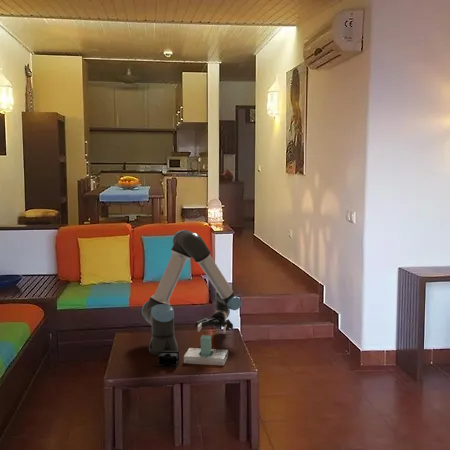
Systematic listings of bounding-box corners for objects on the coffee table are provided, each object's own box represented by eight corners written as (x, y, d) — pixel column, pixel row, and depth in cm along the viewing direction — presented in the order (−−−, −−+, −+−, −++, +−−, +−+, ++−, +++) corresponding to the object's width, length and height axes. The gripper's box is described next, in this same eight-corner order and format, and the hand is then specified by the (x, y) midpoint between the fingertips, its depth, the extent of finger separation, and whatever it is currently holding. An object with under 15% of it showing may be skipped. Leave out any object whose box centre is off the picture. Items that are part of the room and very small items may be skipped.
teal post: (200, 361, 282) (200, 338, 281) (202, 358, 287) (202, 335, 285) (209, 361, 282) (209, 338, 280) (211, 358, 286) (211, 335, 284)
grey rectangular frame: (183, 363, 280) (183, 356, 279) (189, 354, 292) (189, 347, 291) (223, 365, 277) (223, 358, 276) (227, 356, 288) (227, 349, 288)
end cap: (179, 362, 281) (179, 349, 280) (178, 368, 274) (177, 354, 273) (159, 362, 282) (159, 349, 281) (157, 367, 275) (157, 354, 274)
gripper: (241, 326, 313) (234, 338, 292) (196, 323, 317) (187, 335, 297) (241, 313, 312) (235, 324, 291) (196, 310, 316) (187, 321, 296)
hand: (211, 330), depth 294 cm, fingers open, 13 cm apart
